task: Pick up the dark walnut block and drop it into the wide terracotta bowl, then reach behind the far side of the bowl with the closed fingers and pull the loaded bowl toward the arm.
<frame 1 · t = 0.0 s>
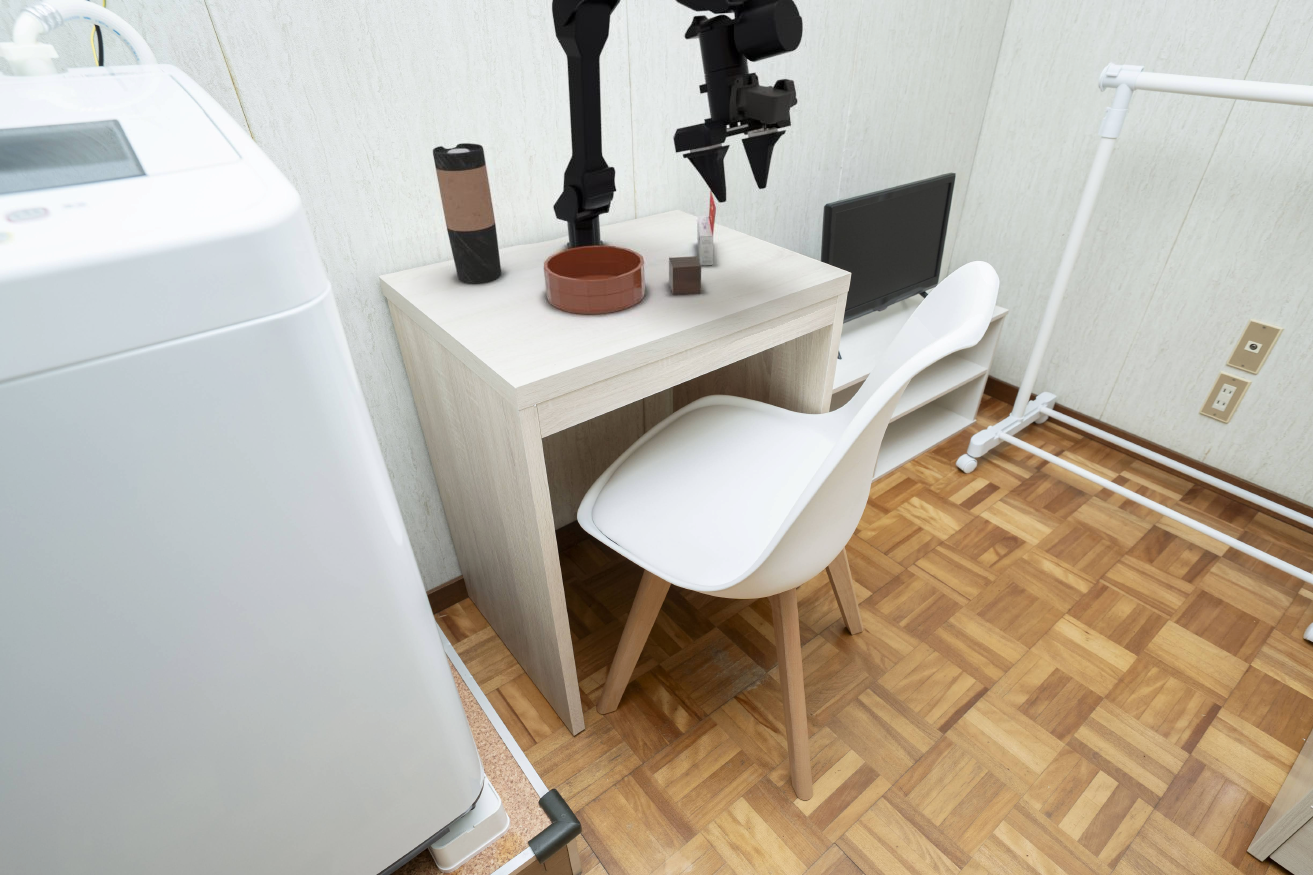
hand: (743, 195, 93), 15 cm above the table, tool pointing down, fingers open, 9 cm apart
bowl: (596, 294, 104), on the table
travel mug: (480, 277, 112), on the table
ink cartridge box: (704, 256, 118), on the table
block: (684, 288, 105), on the table
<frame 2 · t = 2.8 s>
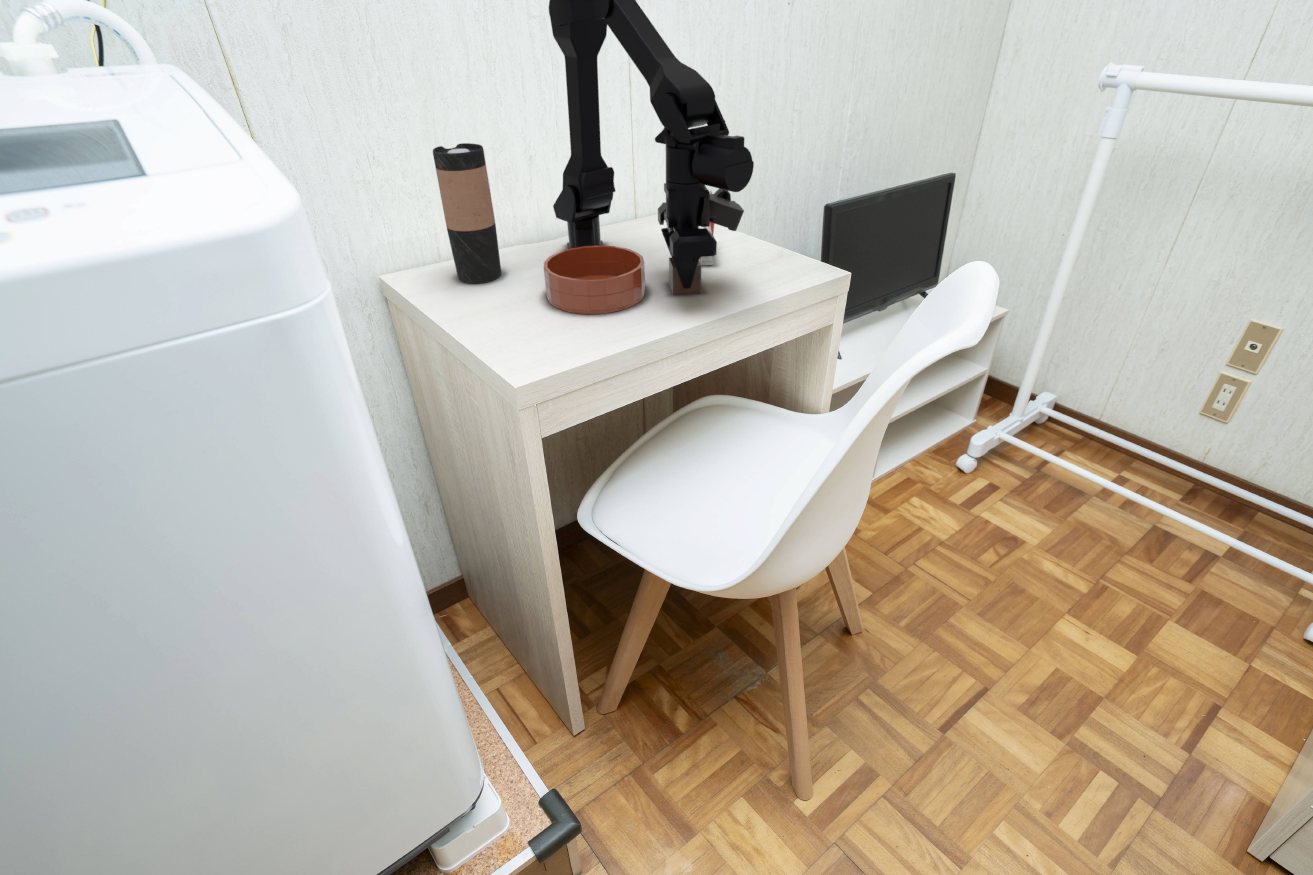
hand: (684, 282, 105), 1 cm above the table, tool pointing down, fingers closed on block, 4 cm apart
block: (684, 288, 105), on the table, touching gripper
everything else where it was.
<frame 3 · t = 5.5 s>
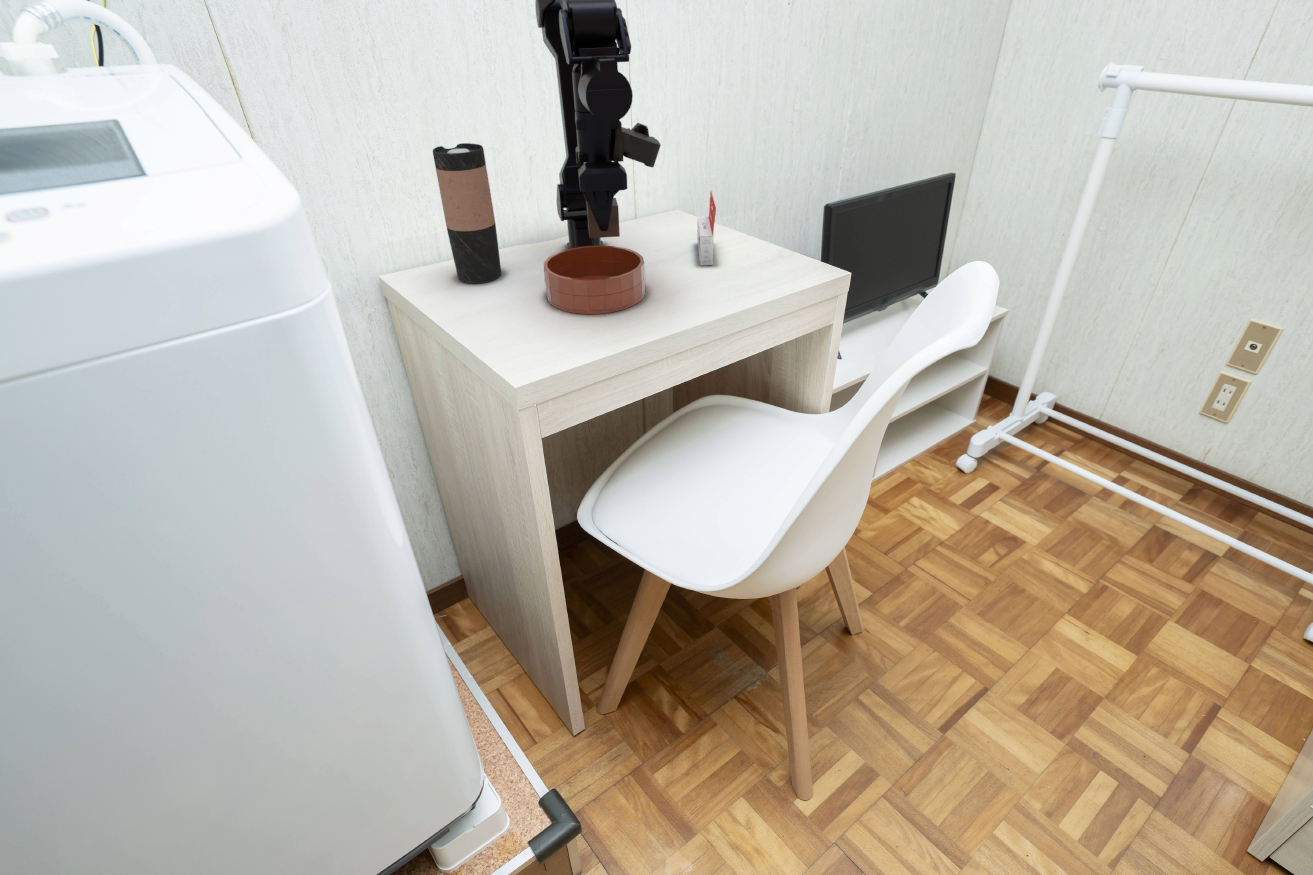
hand: (603, 226, 98), 11 cm above the table, tool pointing down, fingers closed on block, 4 cm apart
block: (603, 232, 99), point 10 cm above the table, touching gripper
everything else where it was.
when the fingers open (1 cm above the table, at t = 8.1 s): block stays where it is, resting on bowl.
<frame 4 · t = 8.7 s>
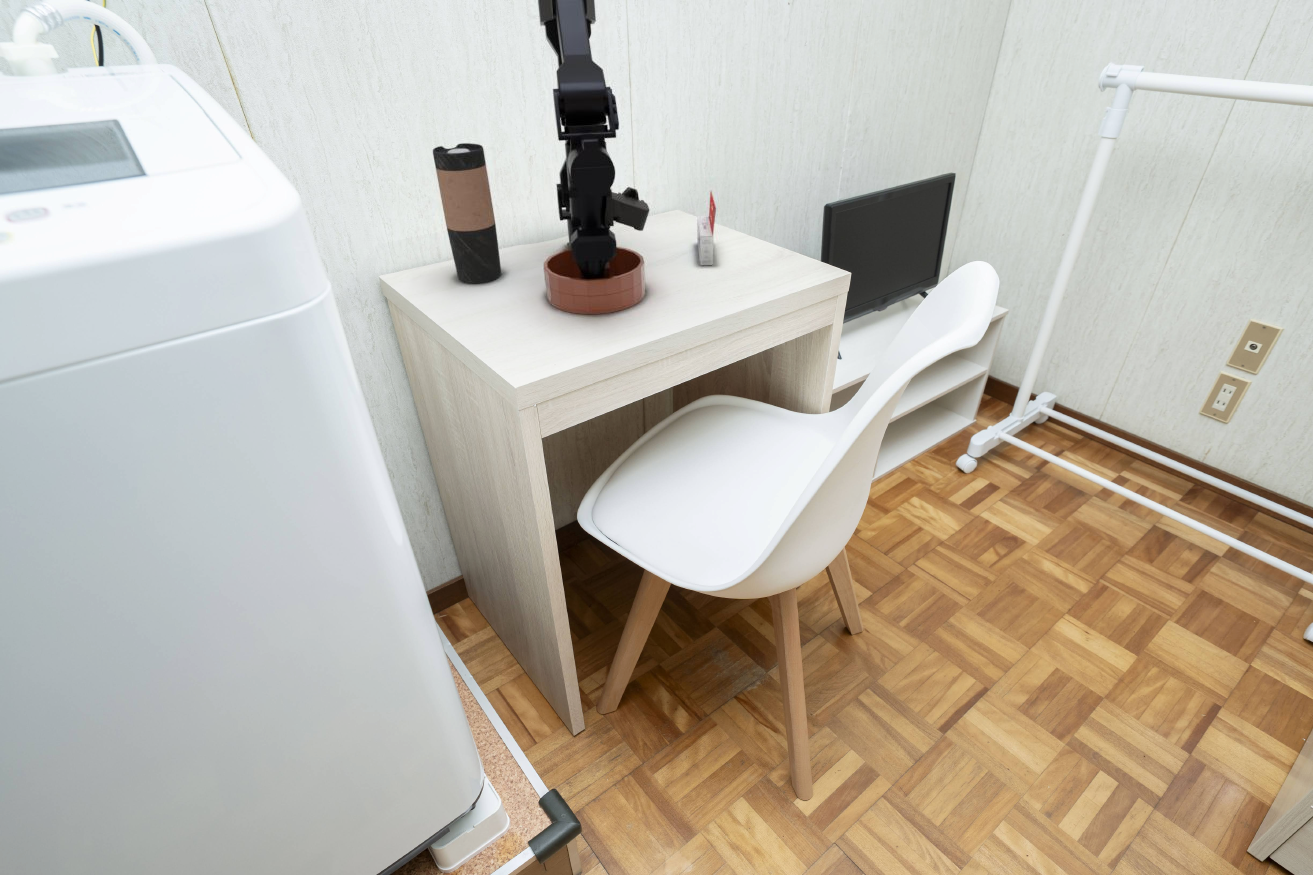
hand: (595, 283, 103), 2 cm above the table, tool pointing down, fingers open, 9 cm apart
bowl: (596, 294, 104), on the table, touching block
block: (596, 291, 104), resting on bowl
everything else where it was.
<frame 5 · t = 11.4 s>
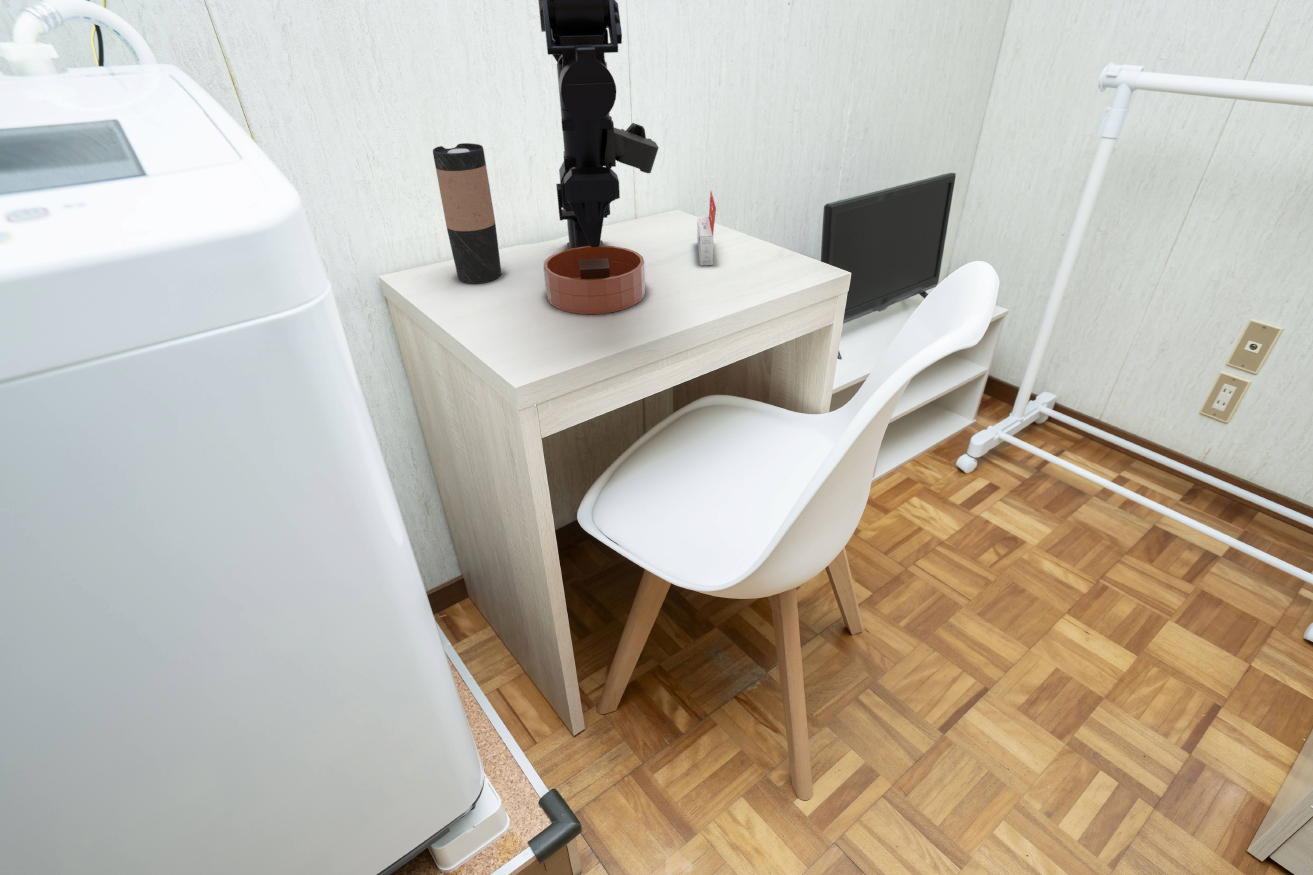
hand: (594, 239, 87), 13 cm above the table, tool pointing down, fingers open, 6 cm apart
nothing on the table moved.
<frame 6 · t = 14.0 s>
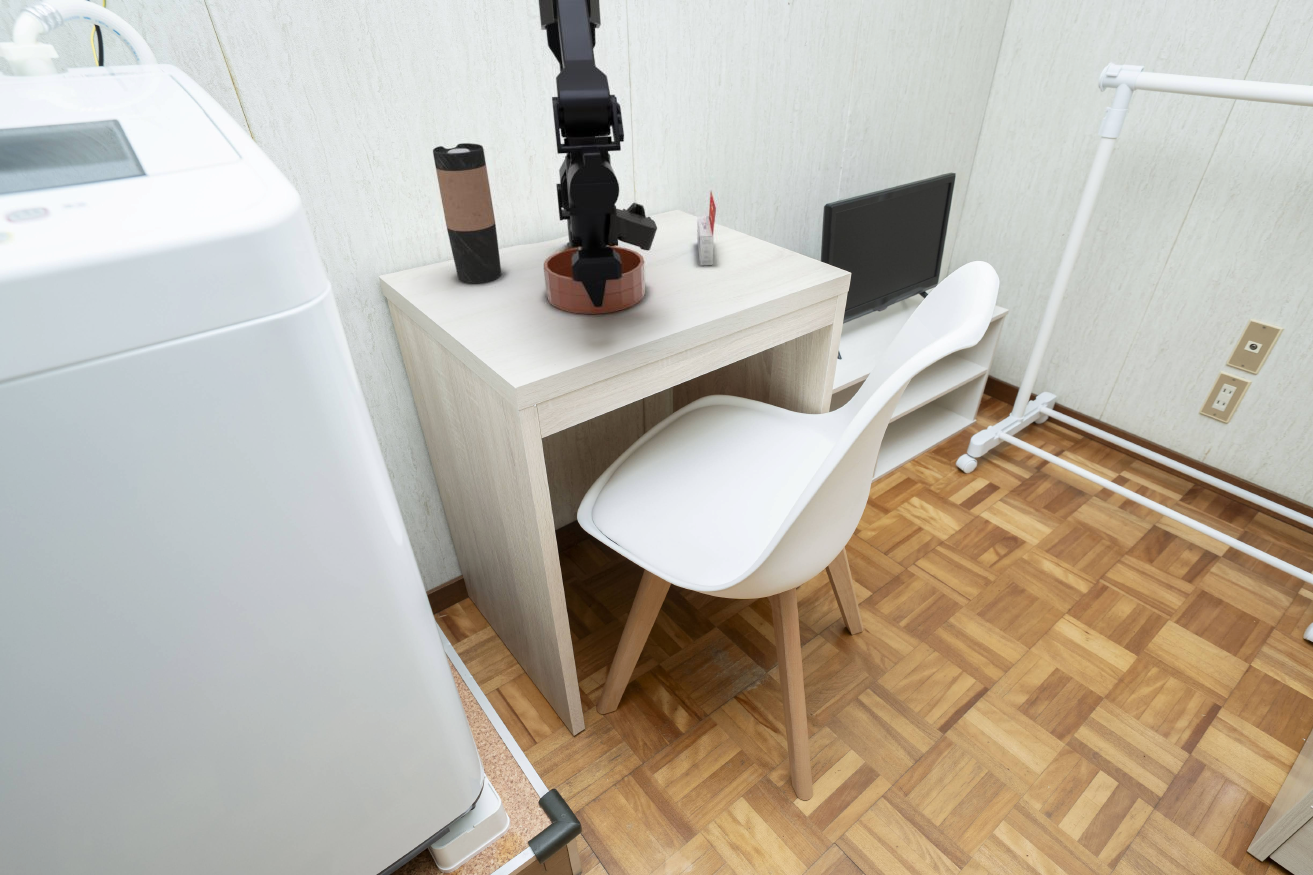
hand: (598, 306, 95), 2 cm above the table, tool pointing down, fingers closed
bowl: (596, 294, 104), on the table, touching block, gripper
everything else where it was.
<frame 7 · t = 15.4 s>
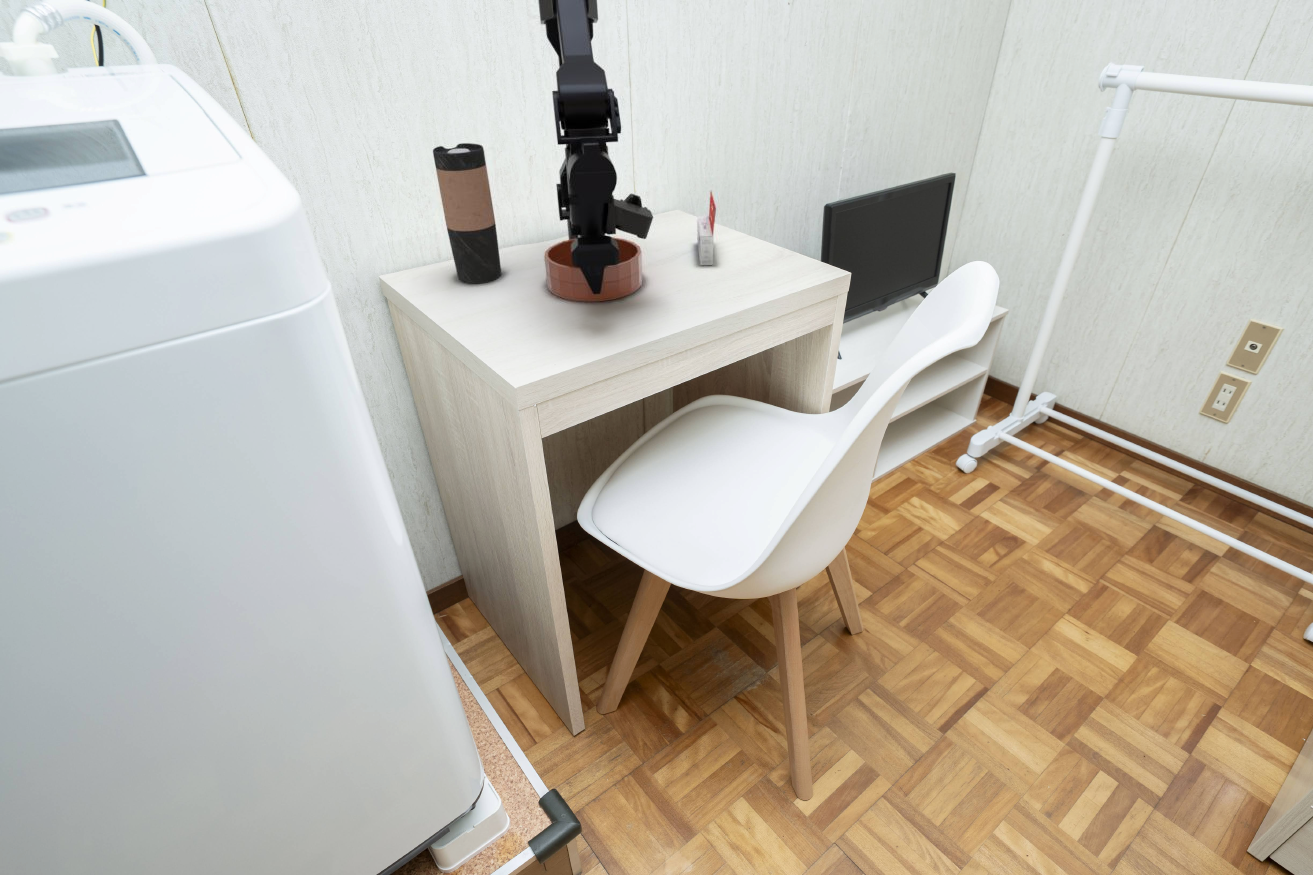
hand: (596, 293, 99), 2 cm above the table, tool pointing down, fingers closed
bowl: (595, 283, 108), on the table, touching block, gripper
block: (594, 280, 108), point 1 cm above the table, touching bowl
everything else where it was.
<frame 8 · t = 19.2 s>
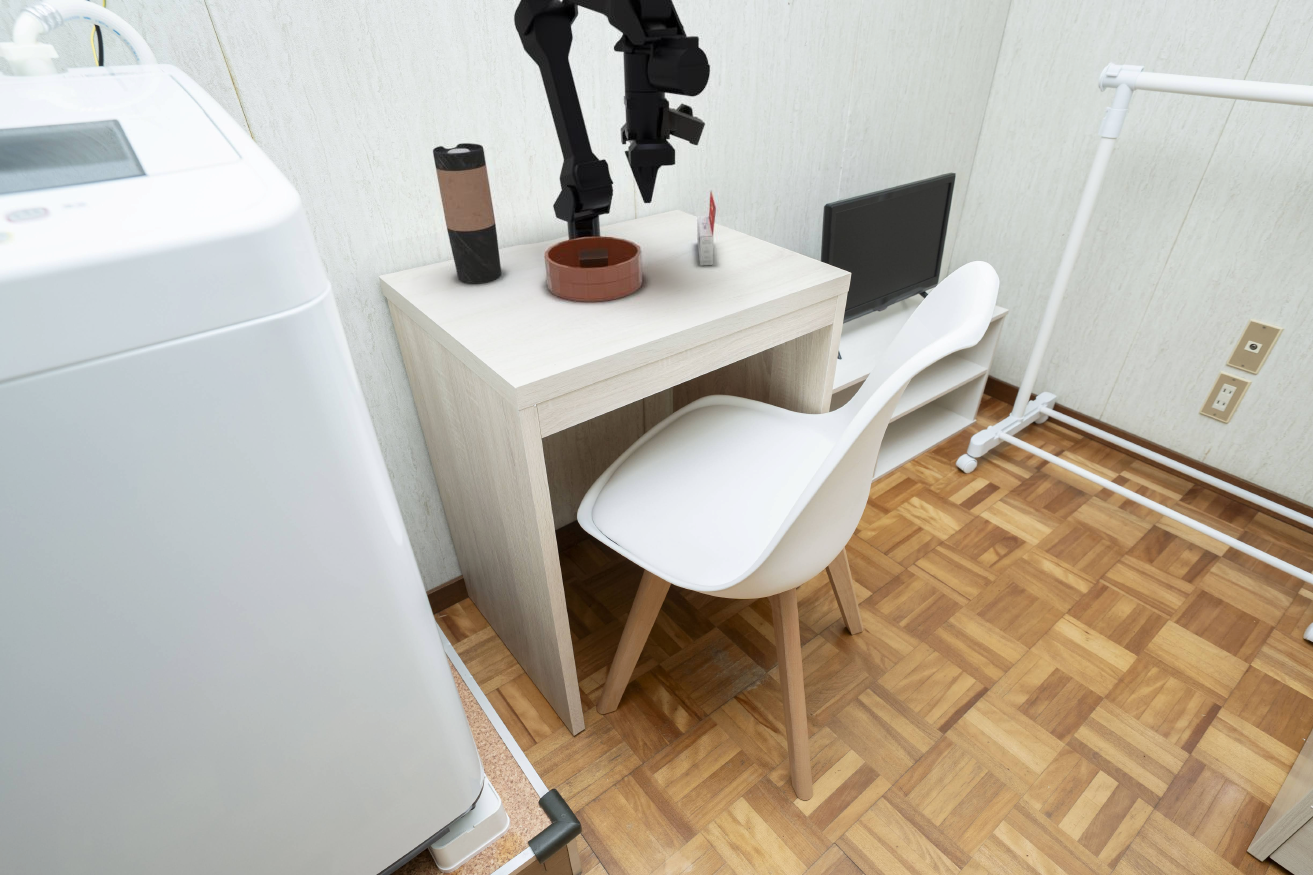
hand: (647, 202, 103), 12 cm above the table, tool pointing down, fingers closed
bowl: (595, 283, 108), on the table, touching block
everything else where it was.
at the end: block inside the target area in the bowl (0.0 cm from its centre), point 0.5 cm above the bowl's base; bowl inside the target area (2.5 cm from its centre), on the table; bowl tilted 0° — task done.
